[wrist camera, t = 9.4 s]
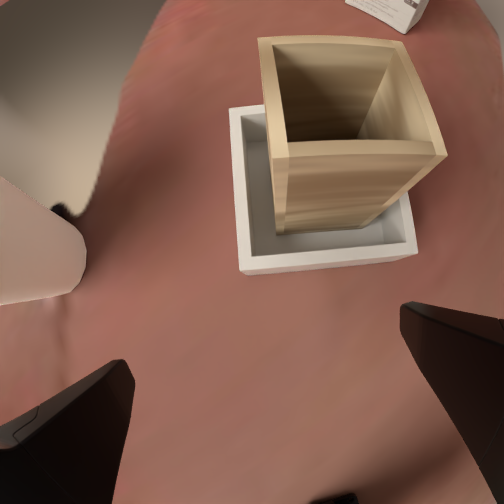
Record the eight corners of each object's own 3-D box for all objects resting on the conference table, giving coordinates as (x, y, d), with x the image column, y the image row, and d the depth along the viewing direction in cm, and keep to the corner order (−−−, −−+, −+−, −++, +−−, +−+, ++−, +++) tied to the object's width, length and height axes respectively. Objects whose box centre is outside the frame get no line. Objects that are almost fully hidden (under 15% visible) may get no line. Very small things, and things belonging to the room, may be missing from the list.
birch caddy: (362, 228, 20) (447, 155, 8) (276, 235, 20) (272, 158, 9) (349, 156, 21) (401, 41, 9) (269, 161, 21) (257, 37, 9)
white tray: (391, 261, 20) (418, 253, 16) (247, 275, 21) (239, 270, 17) (367, 132, 22) (382, 101, 17) (237, 140, 22) (228, 108, 18)
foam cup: (97, 193, 23) (-13, 126, 10) (109, 302, 22) (-25, 301, 9) (25, 223, 24) (-75, 188, 11) (33, 318, 22) (-80, 319, 9)
